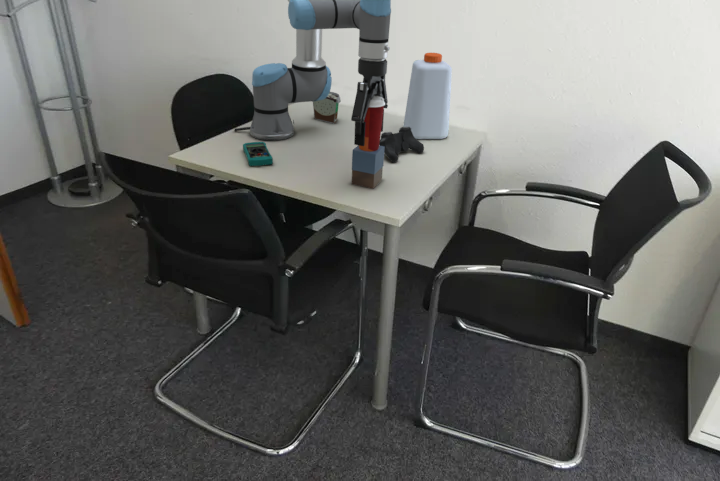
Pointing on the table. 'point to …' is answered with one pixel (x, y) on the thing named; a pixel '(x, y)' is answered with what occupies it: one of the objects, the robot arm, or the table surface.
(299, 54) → the robot arm
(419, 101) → the plastic bottle
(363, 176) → the walnut block
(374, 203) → the table surface
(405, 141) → the game controller
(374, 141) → the paper cup
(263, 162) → the digital multimeter
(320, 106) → the food container
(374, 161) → the slate block
